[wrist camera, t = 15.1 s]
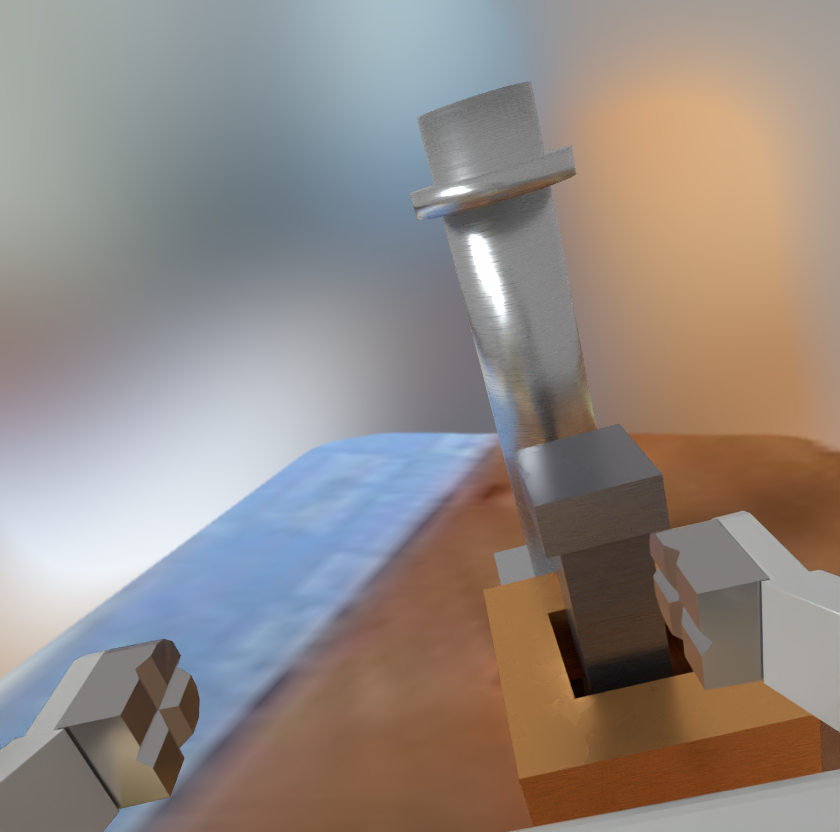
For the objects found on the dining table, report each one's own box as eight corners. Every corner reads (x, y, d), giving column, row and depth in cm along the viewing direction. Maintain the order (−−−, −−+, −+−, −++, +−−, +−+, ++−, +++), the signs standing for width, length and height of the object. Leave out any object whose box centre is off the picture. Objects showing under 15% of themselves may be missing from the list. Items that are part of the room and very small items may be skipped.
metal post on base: (823, 799, 20) (786, -45, 11) (543, 857, 21) (306, 108, 12) (644, 530, 35) (568, 78, 26) (485, 569, 36) (360, 143, 27)
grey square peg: (702, 745, 23) (661, 474, 18) (597, 768, 23) (534, 506, 19) (660, 665, 27) (618, 423, 22) (571, 686, 27) (512, 451, 23)
